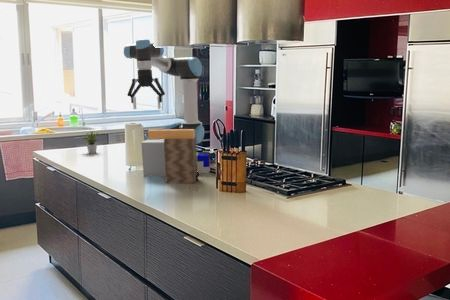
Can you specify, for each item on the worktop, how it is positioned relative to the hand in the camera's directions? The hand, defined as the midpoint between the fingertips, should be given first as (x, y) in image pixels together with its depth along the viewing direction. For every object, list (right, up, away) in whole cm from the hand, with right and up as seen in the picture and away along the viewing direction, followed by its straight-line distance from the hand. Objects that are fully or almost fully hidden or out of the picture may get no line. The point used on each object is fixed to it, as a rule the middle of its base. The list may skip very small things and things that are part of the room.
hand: (147, 108), depth 257 cm
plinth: (+5, -36, +13) cm, 38 cm away
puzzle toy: (+28, -34, +18) cm, 48 cm away
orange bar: (+14, -16, -8) cm, 23 cm away
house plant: (-52, -24, +84) cm, 101 cm away
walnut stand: (+19, -39, -4) cm, 43 cm away
